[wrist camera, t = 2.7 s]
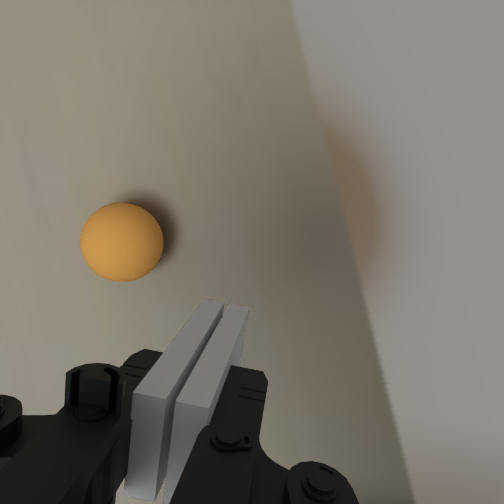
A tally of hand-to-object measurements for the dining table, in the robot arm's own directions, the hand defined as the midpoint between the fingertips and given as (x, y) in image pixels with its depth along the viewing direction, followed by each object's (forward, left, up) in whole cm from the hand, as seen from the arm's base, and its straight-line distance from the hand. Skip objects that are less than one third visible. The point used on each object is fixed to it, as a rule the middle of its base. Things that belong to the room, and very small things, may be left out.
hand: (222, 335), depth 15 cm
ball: (+9, 0, -12) cm, 15 cm away
